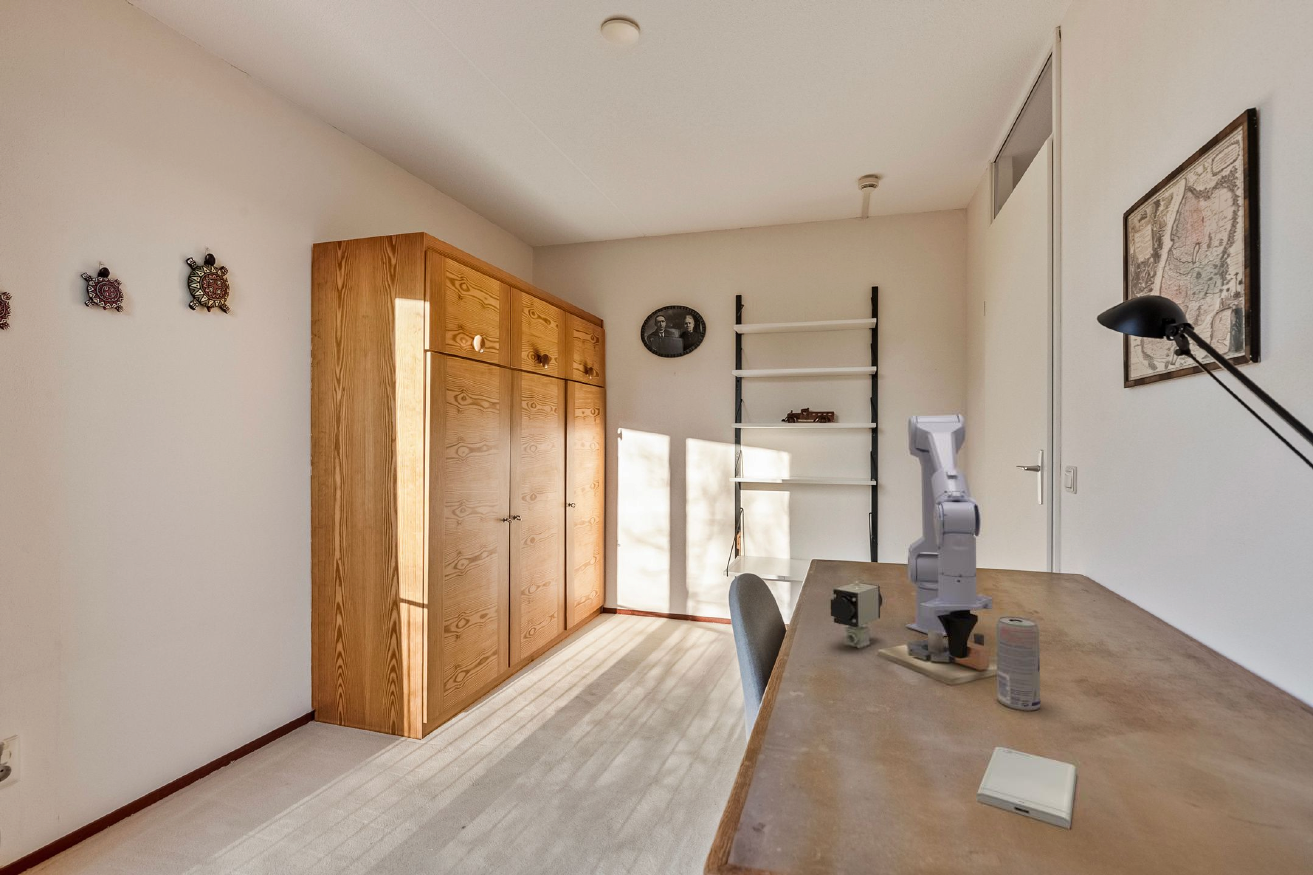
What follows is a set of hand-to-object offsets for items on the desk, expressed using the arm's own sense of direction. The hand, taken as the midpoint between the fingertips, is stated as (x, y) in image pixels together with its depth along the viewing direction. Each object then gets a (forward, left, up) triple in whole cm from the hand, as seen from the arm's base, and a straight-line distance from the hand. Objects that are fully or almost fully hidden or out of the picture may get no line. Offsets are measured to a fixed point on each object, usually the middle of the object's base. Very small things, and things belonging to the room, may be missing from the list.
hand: (958, 656), depth 102 cm
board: (-2, -4, -3) cm, 5 cm away
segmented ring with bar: (-1, -3, -1) cm, 4 cm away
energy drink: (+3, +12, -3) cm, 13 cm away
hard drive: (+23, +27, -3) cm, 36 cm away
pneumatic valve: (+5, -19, -3) cm, 19 cm away
